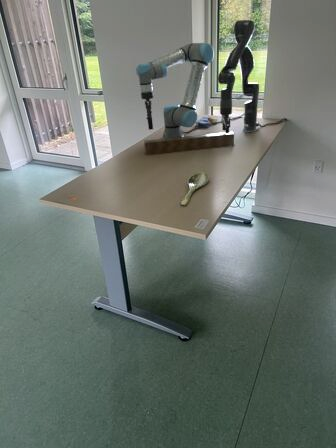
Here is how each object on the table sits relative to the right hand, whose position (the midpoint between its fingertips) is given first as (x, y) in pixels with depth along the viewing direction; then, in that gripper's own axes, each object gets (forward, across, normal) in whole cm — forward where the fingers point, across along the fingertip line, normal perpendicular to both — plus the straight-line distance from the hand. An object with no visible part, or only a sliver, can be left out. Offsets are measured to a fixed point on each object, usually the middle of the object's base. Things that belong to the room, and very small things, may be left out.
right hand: (225, 131), depth 220 cm
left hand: (-8, 0, +49) cm, 50 cm away
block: (+10, 0, +24) cm, 26 cm away
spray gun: (+9, +57, +2) cm, 58 cm away
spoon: (+10, -63, +31) cm, 71 cm away
